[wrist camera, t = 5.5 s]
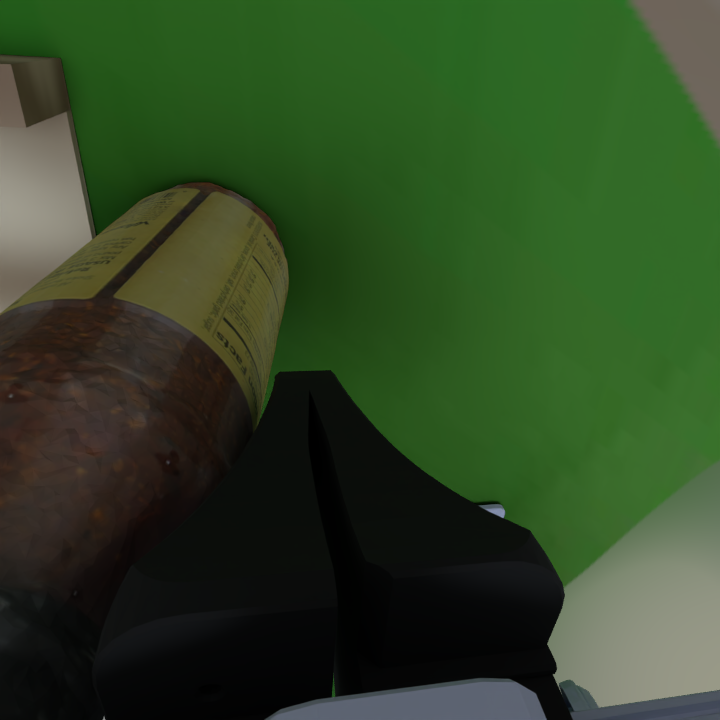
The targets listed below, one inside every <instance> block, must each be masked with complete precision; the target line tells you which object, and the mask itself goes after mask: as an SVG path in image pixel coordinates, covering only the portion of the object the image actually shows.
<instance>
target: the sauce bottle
mask: <svg viewBox="0 0 720 720" xmlns="http://www.w3.org/2000/svg"><path fill="white" fill-rule="evenodd" d="M288 285H289V275H288V263H287V259H286V258H285V255H284V248H283V245H282V242H281V240H280V238H279V236H278V233H277V231H276V227H275V225H274V223H273V222H272V220H271V219H270V217H269V216H268V215H267V214H266V213H265V212H263V211H262V210H261V209H259V208H258V207H257V206H256V205H255V204H254V203H253V202H252V201H250V200H248V199H245V198H243V197H242V196H240V195H239V194H237V193H235V192H233V191H231V190H227V189H224V188H223V187H221V186H218V185H214V184H212V183H210V182H197V183H187V184H183V185H177V186H175V187H173V188H171V189H168V190H165V191H162V192H158V193H155V194H153V195H150V196H148V197H146V198H143V199H142V200H141V201H139V202H138V203H136V204H135V205H134V206H133V207H132V208H130V209H129V210H128V211H127V212H126V213H125V214H123V215H122V216H121V217H119V218H118V219H117V220H116V221H114V222H113V223H112V224H110V225H109V226H108V227H107V228H106V229H105V230H103V231H102V232H101V233H100V234H99V235H97V236H96V237H95V238H94V239H92V240H91V241H90V242H88V243H87V244H86V245H85V246H83V247H82V248H81V249H80V250H78V251H77V252H76V253H75V254H74V255H72V256H71V257H70V258H69V259H67V260H66V261H65V262H64V263H63V264H61V265H60V266H59V267H58V268H56V269H55V270H54V271H53V272H51V273H50V274H49V275H47V276H46V277H45V278H44V279H42V280H41V281H40V282H38V283H37V284H36V285H34V286H33V287H32V288H31V289H30V290H28V291H27V292H26V293H25V294H23V295H22V296H21V297H20V298H19V299H17V300H16V301H15V302H14V303H12V304H11V305H10V306H9V307H8V308H6V309H5V310H4V311H3V312H1V313H0V720H103V717H104V714H103V711H102V709H101V706H100V703H99V700H98V697H97V694H96V692H95V689H94V686H93V679H92V667H93V663H94V659H95V655H96V652H97V648H98V644H99V640H100V636H101V632H102V629H103V626H104V623H105V620H106V618H107V615H108V613H109V610H110V608H111V605H112V603H113V601H114V598H115V596H116V594H117V592H118V589H119V587H120V585H121V583H122V581H123V579H124V577H125V575H126V573H127V572H128V570H129V568H130V566H132V565H133V564H134V563H135V562H137V561H138V560H140V559H141V558H142V557H143V556H145V555H146V554H147V553H148V552H149V551H151V550H152V549H153V548H154V547H156V546H157V545H158V544H159V543H161V542H162V541H163V540H164V539H165V538H167V537H168V536H169V535H170V534H171V533H172V532H173V531H174V530H175V529H177V528H178V527H179V526H180V525H181V524H182V523H183V522H184V521H185V520H186V519H187V518H188V517H189V516H190V515H191V514H192V513H193V512H194V511H195V510H196V509H197V508H198V507H199V506H200V505H201V504H202V503H203V502H204V501H205V499H206V498H207V497H208V496H209V495H210V494H211V493H212V491H213V490H214V489H215V488H216V487H217V485H218V484H219V483H220V482H221V481H222V479H223V478H224V477H225V476H226V474H227V473H228V472H229V470H230V469H231V467H232V466H233V465H234V463H235V462H236V460H237V459H238V458H239V456H240V454H241V453H242V451H243V450H244V448H245V447H246V445H247V443H248V441H249V440H250V438H251V436H252V434H253V433H254V431H255V429H256V427H257V426H258V422H259V418H260V414H261V410H262V406H263V401H264V397H265V392H266V388H267V383H268V379H269V374H270V370H271V365H272V361H273V357H274V352H275V347H276V342H277V337H278V332H279V328H280V324H281V320H282V316H283V312H284V307H285V303H286V298H287V293H288Z"/></svg>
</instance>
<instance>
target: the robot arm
mask: <svg viewBox="0 0 720 720" xmlns="http://www.w3.org/2000/svg"><path fill="white" fill-rule="evenodd" d="M504 515H505V510H504V508H503V506H502V505H500V504H491V505H476V504H474V503H473V502H471V501H469V500H467V499H465V498H464V497H462V496H460V495H459V494H457V493H455V492H454V491H452V490H451V489H449V488H447V487H446V486H444V485H443V484H441V483H440V482H438V481H437V480H436V479H434V478H433V477H431V476H430V475H428V474H427V473H425V472H424V471H423V470H421V469H420V468H419V467H418V466H416V465H415V464H414V463H412V462H411V461H410V460H409V459H408V458H407V457H405V456H404V455H403V454H402V453H401V452H400V451H398V450H397V449H396V448H395V447H394V446H393V445H392V444H391V443H390V442H389V441H388V440H387V439H386V438H385V437H384V436H383V435H382V434H381V433H380V432H379V431H378V430H377V429H376V427H375V426H374V425H373V424H372V423H371V422H370V421H369V420H368V418H367V417H366V416H365V415H364V414H363V412H362V411H361V410H360V409H359V408H358V407H357V405H356V404H355V403H354V401H353V400H352V399H351V397H350V396H349V395H348V393H347V392H346V391H345V389H344V388H343V386H342V385H341V383H340V382H339V380H338V379H337V377H336V376H335V374H334V373H333V372H332V371H331V370H326V371H292V372H279V373H278V374H277V375H276V376H275V382H274V386H273V390H272V393H271V396H270V399H269V401H268V404H267V406H266V408H265V411H264V413H263V415H262V417H261V419H260V422H259V424H258V426H257V427H256V429H255V431H254V433H253V434H252V436H251V438H250V440H249V441H248V443H247V445H246V447H245V448H244V450H243V451H242V453H241V454H240V456H239V458H238V459H237V460H236V462H235V463H234V465H233V466H232V467H231V469H230V470H229V472H228V473H227V474H226V476H225V477H224V478H223V479H222V481H221V482H220V483H219V484H218V485H217V487H216V488H215V489H214V490H213V491H212V493H211V494H210V495H209V496H208V497H207V498H206V499H205V501H204V502H203V503H202V504H201V505H200V506H199V507H198V508H197V509H196V510H195V511H194V512H193V513H192V514H191V515H190V516H189V517H188V518H187V519H186V520H185V521H184V522H183V523H182V524H181V525H180V526H179V527H178V528H177V529H175V530H174V531H173V532H172V533H171V534H170V535H169V536H168V537H167V538H165V539H164V540H163V541H162V542H161V543H159V544H158V545H157V546H156V547H154V548H153V549H152V550H151V551H149V552H148V553H147V554H146V555H145V556H143V557H142V558H141V559H140V560H138V561H137V562H135V563H134V564H133V565H132V566H130V568H129V570H128V572H127V573H126V575H125V577H124V579H123V581H122V583H121V585H120V587H119V589H118V592H117V594H116V596H115V598H114V601H113V603H112V605H111V608H110V610H109V613H108V615H107V618H106V620H105V623H104V626H103V629H102V632H101V636H100V640H99V644H98V648H97V652H96V655H95V659H94V663H93V667H92V679H93V686H94V689H95V692H96V694H97V697H98V700H99V703H100V706H101V709H102V711H103V714H104V717H105V719H106V720H720V690H717V691H710V692H703V693H696V694H690V695H683V696H676V697H669V698H662V699H655V700H649V701H642V702H635V703H628V704H622V705H615V706H608V707H601V708H599V707H598V705H597V704H596V702H595V700H594V699H593V697H592V696H591V695H590V693H589V692H588V691H587V690H585V689H583V688H582V687H580V686H577V685H575V683H574V682H573V681H571V680H566V681H563V682H561V683H559V687H560V690H561V692H560V690H559V687H558V685H557V683H556V681H555V679H554V677H553V674H555V672H556V670H557V667H556V662H555V660H554V658H553V655H552V653H551V651H550V649H549V647H548V645H547V643H548V640H549V638H550V636H551V633H552V631H553V628H554V626H555V624H556V621H557V619H558V616H559V614H560V612H561V609H562V606H563V601H564V597H565V594H564V589H563V584H562V582H561V580H560V578H559V576H558V574H557V573H556V571H555V569H554V567H553V565H552V563H551V562H550V560H549V558H548V557H547V555H546V553H545V552H544V550H543V549H542V547H541V546H540V545H539V543H538V542H537V540H536V539H535V537H534V536H533V534H532V533H531V531H530V530H528V529H526V528H524V527H521V526H519V525H517V524H515V523H513V522H511V521H508V520H506V519H504ZM333 672H334V684H335V696H336V697H332V685H333ZM561 693H562V694H561Z"/></svg>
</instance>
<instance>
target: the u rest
mask: <svg viewBox="0 0 720 720" xmlns="http://www.w3.org/2000/svg"><path fill="white" fill-rule="evenodd" d="M95 237H96V233H95V228H94V223H93V218H92V213H91V208H90V203H89V198H88V193H87V188H86V183H85V178H84V173H83V168H82V163H81V158H80V153H79V148H78V143H77V138H76V133H75V128H74V123H73V118H72V113H71V108H70V103H69V98H68V92H67V87H66V82H65V77H64V72H63V67H62V62H61V58H50V57H33V56H16V55H0V313H1V312H3V311H4V310H5V309H6V308H8V307H9V306H10V305H11V304H12V303H14V302H15V301H16V300H17V299H19V298H20V297H21V296H22V295H23V294H25V293H26V292H27V291H28V290H30V289H31V288H32V287H33V286H34V285H36V284H37V283H38V282H40V281H41V280H42V279H44V278H45V277H46V276H47V275H49V274H50V273H51V272H53V271H54V270H55V269H56V268H58V267H59V266H60V265H61V264H63V263H64V262H65V261H66V260H67V259H69V258H70V257H71V256H72V255H74V254H75V253H76V252H77V251H78V250H80V249H81V248H82V247H83V246H85V245H86V244H87V243H88V242H90V241H91V240H92V239H94V238H95Z"/></svg>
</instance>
